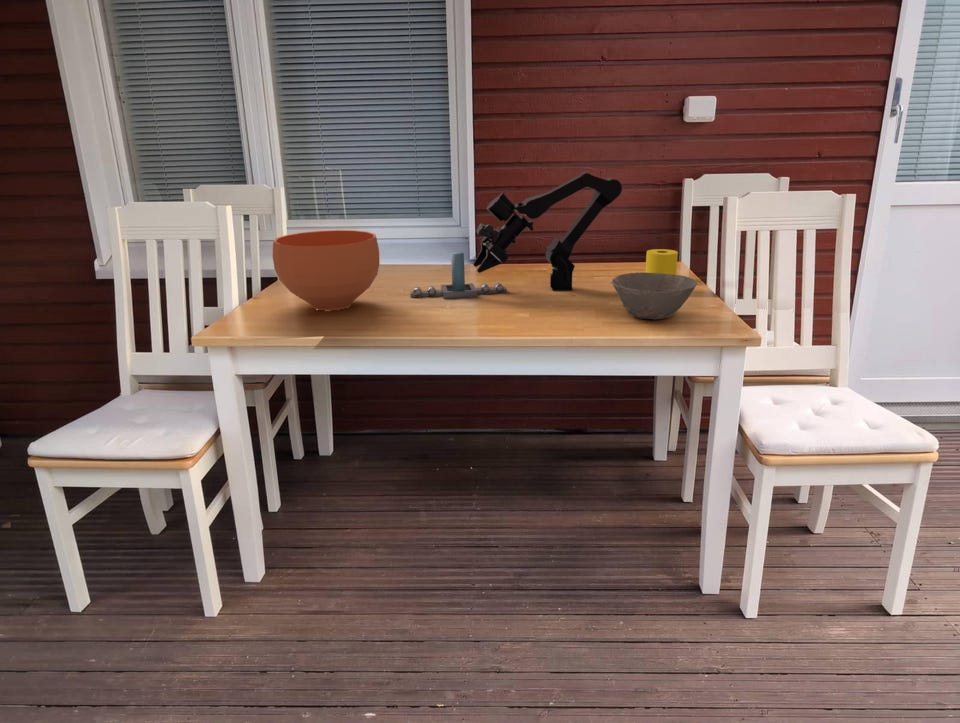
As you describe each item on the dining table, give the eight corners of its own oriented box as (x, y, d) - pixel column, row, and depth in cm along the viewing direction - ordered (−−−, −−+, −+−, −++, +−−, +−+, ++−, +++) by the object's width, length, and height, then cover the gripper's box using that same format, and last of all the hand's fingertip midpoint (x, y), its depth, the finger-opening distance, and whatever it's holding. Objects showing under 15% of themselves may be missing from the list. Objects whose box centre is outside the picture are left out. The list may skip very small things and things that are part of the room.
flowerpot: (384, 316, 184) (378, 243, 177) (274, 323, 180) (264, 248, 173) (381, 291, 212) (377, 228, 205) (286, 297, 208) (278, 232, 201)
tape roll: (668, 284, 214) (670, 255, 211) (640, 280, 220) (641, 252, 217) (680, 278, 222) (682, 250, 219) (652, 275, 228) (654, 248, 224)
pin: (467, 293, 208) (466, 252, 204) (461, 296, 205) (459, 254, 200) (456, 292, 210) (455, 251, 205) (450, 294, 206) (448, 253, 202)
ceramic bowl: (690, 307, 187) (693, 272, 184) (696, 330, 166) (700, 292, 163) (611, 304, 192) (613, 270, 189) (608, 326, 171) (610, 289, 168)
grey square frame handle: (503, 287, 214) (503, 280, 213) (509, 295, 204) (508, 287, 203) (410, 292, 210) (409, 284, 209) (411, 300, 201) (410, 292, 200)
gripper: (487, 210, 209) (454, 246, 211) (496, 217, 192) (460, 257, 194) (511, 233, 213) (479, 269, 215) (523, 243, 195) (487, 281, 198)
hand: (476, 268), depth 205 cm, fingers open, 9 cm apart
